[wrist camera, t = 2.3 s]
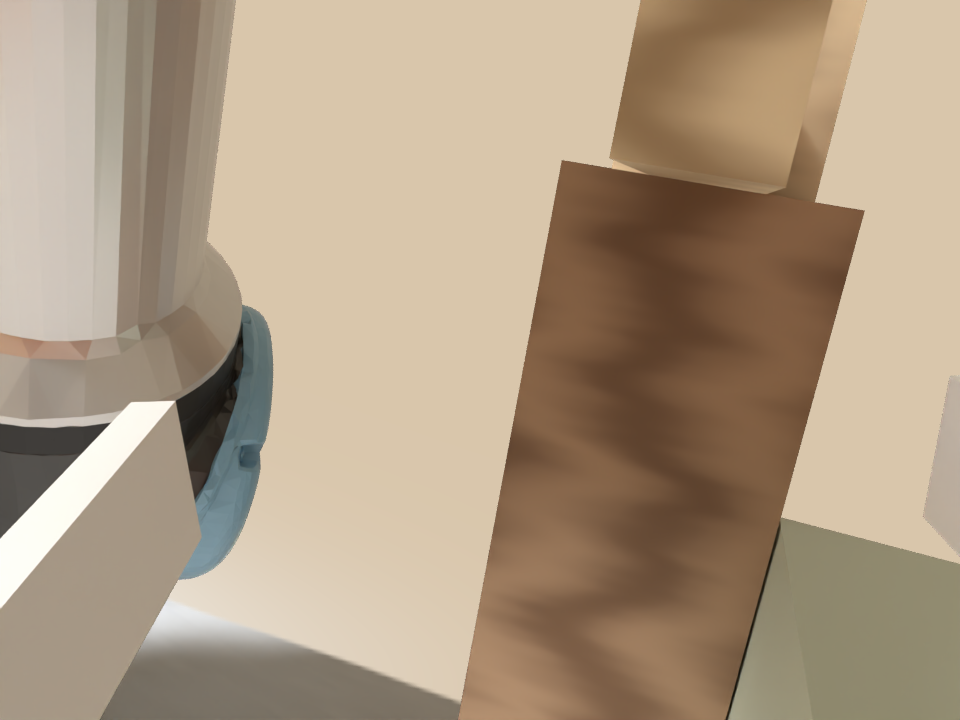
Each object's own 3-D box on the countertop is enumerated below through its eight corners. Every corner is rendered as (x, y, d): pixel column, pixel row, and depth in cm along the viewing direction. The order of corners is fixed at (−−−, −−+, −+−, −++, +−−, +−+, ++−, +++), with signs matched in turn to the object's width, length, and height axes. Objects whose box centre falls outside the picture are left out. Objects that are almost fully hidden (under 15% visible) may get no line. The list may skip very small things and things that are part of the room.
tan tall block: (527, 145, 17) (593, -230, 16) (626, 175, 34) (662, -4, 32) (881, 202, 15) (996, -212, 14) (802, 205, 32) (850, 17, 30)
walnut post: (420, 922, 33) (562, 160, 26) (483, 775, 41) (603, 172, 34) (643, 1017, 30) (864, 210, 23) (662, 840, 39) (828, 209, 32)
